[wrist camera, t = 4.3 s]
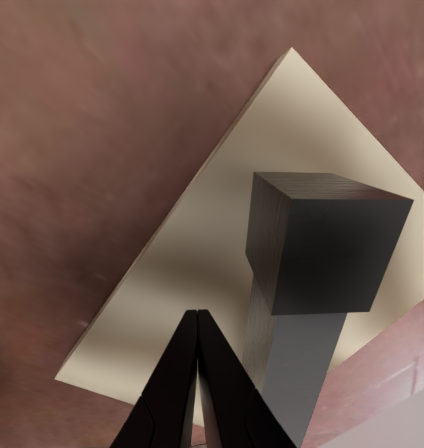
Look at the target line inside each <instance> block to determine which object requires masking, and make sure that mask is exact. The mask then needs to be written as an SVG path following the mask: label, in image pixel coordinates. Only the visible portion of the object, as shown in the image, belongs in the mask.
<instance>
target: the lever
mask: <svg viewBox="0 0 424 448" xmlns="http://www.w3.org/2000/svg"><path fill="white" fill-rule="evenodd" d="M413 202H414V200H413V199H410V198H407V197H404V196H401V195H398V194H395V193H392V192H388V191H385V190H382V189H379V188H376V187H373V186H370V185H367V184H364V183H360V182H357V181H354V180H351V179H348V178H345V177H342V176H339V175H336V174H333V173H299V172H254V173H253V182H252V192H251V202H250V211H249V221H248V231H247V240H246V250H245V254H246V257H247V259H248V262H249V264H250V266H251V269H252V271H253V279H252V287H251V295H250V303H249V311H248V319H247V327H246V336H245V344H244V352H243V360H242V365H243V367H244V369H245V370H246V372H247V374H248V375H249V377H250V378H251V380H252V382H253V383H254V385H255V388H256V389H257V390H258V391H259V393H260V395H261V396H262V398H263V399H264V401H265V403H266V404H267V406H268V407H269V409H270V410H271V412H272V413H273V415H274V416H275V418H276V419H277V421H278V422H279V423H280V425H281V426H282V428H283V429H284V430H285V432H286V433H287V434H288V436H289V437H290V439H291V440H292V441H293V443H294V444H295V445H296V446H297V448H301V445H302V442H303V439H304V436H305V433H306V431H307V428H308V425H309V422H310V419H311V416H312V414H313V411H314V408H315V405H316V402H317V399H318V396H319V394H320V391H321V388H322V385H323V382H324V379H325V377H326V374H327V371H328V368H329V365H330V362H331V359H332V357H333V354H334V351H335V348H336V345H337V342H338V339H339V337H340V334H341V331H342V328H343V325H344V322H345V320H346V317H347V314H348V313H356V312H370V310H371V307H372V305H373V302H374V300H375V297H376V295H377V292H378V290H379V287H380V285H381V282H382V280H383V277H384V275H385V272H386V270H387V267H388V265H389V262H390V260H391V257H392V255H393V252H394V250H395V247H396V245H397V242H398V240H399V237H400V235H401V232H402V230H403V227H404V225H405V222H406V220H407V217H408V215H409V212H410V210H411V207H412V205H413Z"/></svg>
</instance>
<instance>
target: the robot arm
mask: <svg viewBox="0 0 424 448" xmlns="http://www.w3.org/2000/svg"><path fill="white" fill-rule="evenodd" d="M197 359H198V380H199V388H200V396H201V404H202V412H203V420H204V428H205V437H206V445H207V448H297V446H296V445H295V444H294V443H293V441H292V440H291V439H290V437H289V436H288V434H287V433H286V432H285V430H284V429H283V428H282V426H281V425H280V423H279V422H278V421H277V419H276V418H275V416H274V415H273V413H272V412H271V410H270V409H269V407H268V406H267V404H266V403H265V401H264V399H263V398H262V396H261V395H260V393H259V391H258V390H257V389H256V388H255V385H254V383H253V382H252V380H251V378H250V377H249V375H248V374H247V372H246V370H245V369H244V367H243V365H242V364H241V362H240V360H239V359H238V357H237V356H236V354H235V352H234V351H233V349H232V347H231V346H230V344H229V343H228V341H227V339H226V338H225V336H224V334H223V333H222V331H221V329H220V328H219V326H218V325H217V323H216V321H215V320H214V318H213V316H212V315H211V313H210V312H209V310H208V309H198V310H196V309H192V310H186V311H185V313H184V315H183V317H182V319H181V320H180V322H179V324H178V326H177V328H176V330H175V332H174V333H173V335H172V337H171V339H170V341H169V343H168V345H167V346H166V348H165V350H164V352H163V354H162V356H161V357H160V359H159V361H158V363H157V365H156V367H155V369H154V370H153V372H152V374H151V376H150V378H149V380H148V382H147V383H146V385H145V387H144V389H143V391H142V393H141V396H139V398H138V400H137V402H136V404H135V405H134V407H133V409H132V411H131V413H130V414H129V416H128V418H127V420H126V421H125V423H124V425H123V427H122V428H121V430H120V432H119V433H118V435H117V436H116V438H115V439H114V441H113V443H112V444H111V446H110V447H109V448H190V446H191V436H192V425H193V415H194V405H195V395H196V384H197Z"/></svg>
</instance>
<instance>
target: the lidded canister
mask: <svg viewBox="0 0 424 448" xmlns="http://www.w3.org/2000/svg"><path fill="white" fill-rule="evenodd" d="M190 448H207V445H206V444H204V445H198V446H194V447H190Z"/></svg>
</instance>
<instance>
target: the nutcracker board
mask: <svg viewBox="0 0 424 448" xmlns="http://www.w3.org/2000/svg"><path fill="white" fill-rule="evenodd" d="M254 172H299V173H333V174H336V175H339V176H342V177H345V178H348V179H351V180H354V181H357V182H360V183H364V184H367V185H370V186H373V187H376V188H379V189H382V190H385V191H388V192H392V193H395V194H398V195H401V196H404V197H407V198H410V199H413V200H414V202H413V205H412V207H411V210H410V212H409V215H408V217H407V220H406V222H405V225H404V227H403V230H402V232H401V235H400V237H399V240H398V242H397V245H396V247H395V250H394V252H393V255H392V257H391V260H390V262H389V265H388V267H387V270H386V272H385V275H384V277H383V280H382V282H381V285H380V287H379V290H378V292H377V295H376V297H375V300H374V302H373V305H372V307H371V310H370V312H356V313H348V314H347V317H346V320H345V322H344V325H343V328H342V331H341V334H340V337H339V339H338V342H337V345H336V348H335V351H334V354H333V357H332V359H331V362H330V365H329V368H328V371H327V374H328V373H329V372H331V371H332V370H333V369H334V368H336V367H337V366H338V365H340V364H341V363H342V362H343V361H345V360H346V359H347V358H349V357H350V356H351V355H352V354H354V353H355V352H356V351H358V350H359V349H360V348H361V347H363V346H364V345H365V344H367V343H368V342H369V341H370V340H372V339H373V338H374V337H376V336H377V335H378V334H379V333H381V332H382V331H383V330H385V329H386V328H387V327H388V326H390V325H391V324H392V323H394V322H395V321H396V320H397V319H399V318H400V317H401V316H403V315H404V314H405V313H406V312H408V311H409V310H410V309H412V308H413V307H414V306H416V305H417V304H418V303H419V302H421V301H422V300H423V299H424V191H423V190H422V189H421V188H420V187H419V186H418V185H417V184H416V182H415V181H414V180H413V179H412V178H411V177H410V176H409V175H408V174H407V173H406V171H405V170H404V169H403V168H402V167H401V166H400V165H399V164H398V163H397V162H396V161H395V159H394V158H393V157H392V156H391V155H390V154H389V153H388V152H387V151H386V150H385V149H384V147H383V146H382V145H381V144H380V143H379V142H378V141H377V140H376V139H375V138H374V136H373V135H372V134H371V133H370V132H369V131H368V130H367V129H366V128H365V127H364V126H363V124H362V123H361V122H360V121H359V120H358V119H357V118H356V117H355V116H354V115H353V114H352V112H351V111H350V110H349V109H348V108H347V107H346V106H345V105H344V104H343V103H342V101H341V100H340V99H339V98H338V97H337V96H336V95H335V94H334V93H333V92H332V91H331V89H330V88H329V87H328V86H327V85H326V84H325V83H324V82H323V81H322V80H321V79H320V77H319V76H318V75H317V74H316V73H315V72H314V71H313V70H312V69H311V68H310V66H309V65H308V64H307V63H306V62H305V61H304V60H303V59H302V58H301V57H300V56H299V54H298V53H297V52H296V51H295V50H294V49H293V48H290V49H289V50H288V51H287V52H286V53H284V54H283V55H282V56H281V57H279V58H278V59H277V61H276V62H275V64H274V65H273V66H272V68H271V69H270V71H269V72H268V74H267V75H266V76H265V78H264V79H263V81H262V82H261V83H260V85H259V86H258V88H257V89H256V90H255V92H254V93H253V95H252V96H251V97H250V99H249V100H248V102H247V103H246V105H245V106H244V107H243V109H242V110H241V112H240V113H239V114H238V116H237V117H236V119H235V120H234V121H233V123H232V124H231V126H230V127H229V129H228V130H227V131H226V133H225V134H224V136H223V137H222V138H221V140H220V141H219V143H218V144H217V145H216V147H215V148H214V150H213V151H212V152H211V154H210V155H209V157H208V158H207V160H206V161H205V162H204V164H203V165H202V167H201V168H200V169H199V171H198V172H197V174H196V175H195V176H194V178H193V179H192V181H191V182H190V183H189V185H188V186H187V188H186V189H185V191H184V192H183V193H182V195H181V196H180V198H179V199H178V200H177V202H176V203H175V205H174V206H173V207H172V209H171V210H170V212H169V213H168V215H167V216H166V217H165V219H164V220H163V222H162V223H161V224H160V226H159V227H158V229H157V230H156V231H155V233H154V234H153V236H152V237H151V238H150V240H149V241H148V243H147V244H146V246H145V247H144V248H143V250H142V251H141V253H140V254H139V255H138V257H137V258H136V260H135V261H134V262H133V264H132V265H131V267H130V268H129V269H128V271H127V272H126V274H125V275H124V277H123V278H122V279H121V281H120V282H119V284H118V285H117V286H116V288H115V289H114V291H113V292H112V293H111V295H110V296H109V298H108V299H107V301H106V302H105V303H104V305H103V306H102V308H101V309H100V310H99V312H98V313H97V315H96V316H95V317H94V319H93V320H92V322H91V323H90V324H89V326H88V327H87V329H86V330H85V332H84V333H83V334H82V336H81V337H80V339H79V340H78V341H77V343H76V344H75V346H74V347H73V348H72V350H71V351H70V353H69V354H68V355H67V357H66V359H65V360H64V362H63V364H62V366H61V368H60V369H59V371H58V373H57V375H56V377H55V379H56V380H59V381H62V382H65V383H68V384H71V385H74V386H77V387H80V388H84V389H87V390H90V391H93V392H96V393H99V394H102V395H105V396H108V397H112V398H115V399H118V400H121V401H124V402H127V403H130V404H133V405H135V404H136V402H137V400H138V398H139V396H141V393H142V391H143V389H144V387H145V385H146V383H147V382H148V380H149V378H150V376H151V374H152V372H153V370H154V369H155V367H156V365H157V363H158V361H159V359H160V357H161V356H162V354H163V352H164V350H165V348H166V346H167V345H168V343H169V341H170V339H171V337H172V335H173V333H174V332H175V330H176V328H177V326H178V324H179V322H180V320H181V319H182V317H183V315H184V313H185V311H186V310H192V309H196V310H198V309H208V310H209V312H210V313H211V315H212V316H213V318H214V320H215V321H216V323H217V325H218V326H219V328H220V329H221V331H222V333H223V334H224V336H225V338H226V339H227V341H228V343H229V344H230V346H231V347H232V349H233V351H234V352H235V354H236V356H237V357H238V359H239V360H240V362H241V364H242V360H243V352H244V344H245V336H246V327H247V319H248V311H249V303H250V295H251V287H252V279H253V271H252V269H251V266H250V264H249V262H248V259H247V257H246V254H245V250H246V240H247V231H248V221H249V211H250V202H251V192H252V182H253V173H254ZM327 374H326V375H327ZM193 424H196V425H199V426H202V427H204V420H203V412H202V404H201V396H200V388H199V380H198V359H197V384H196V395H195V405H194V415H193Z"/></svg>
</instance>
